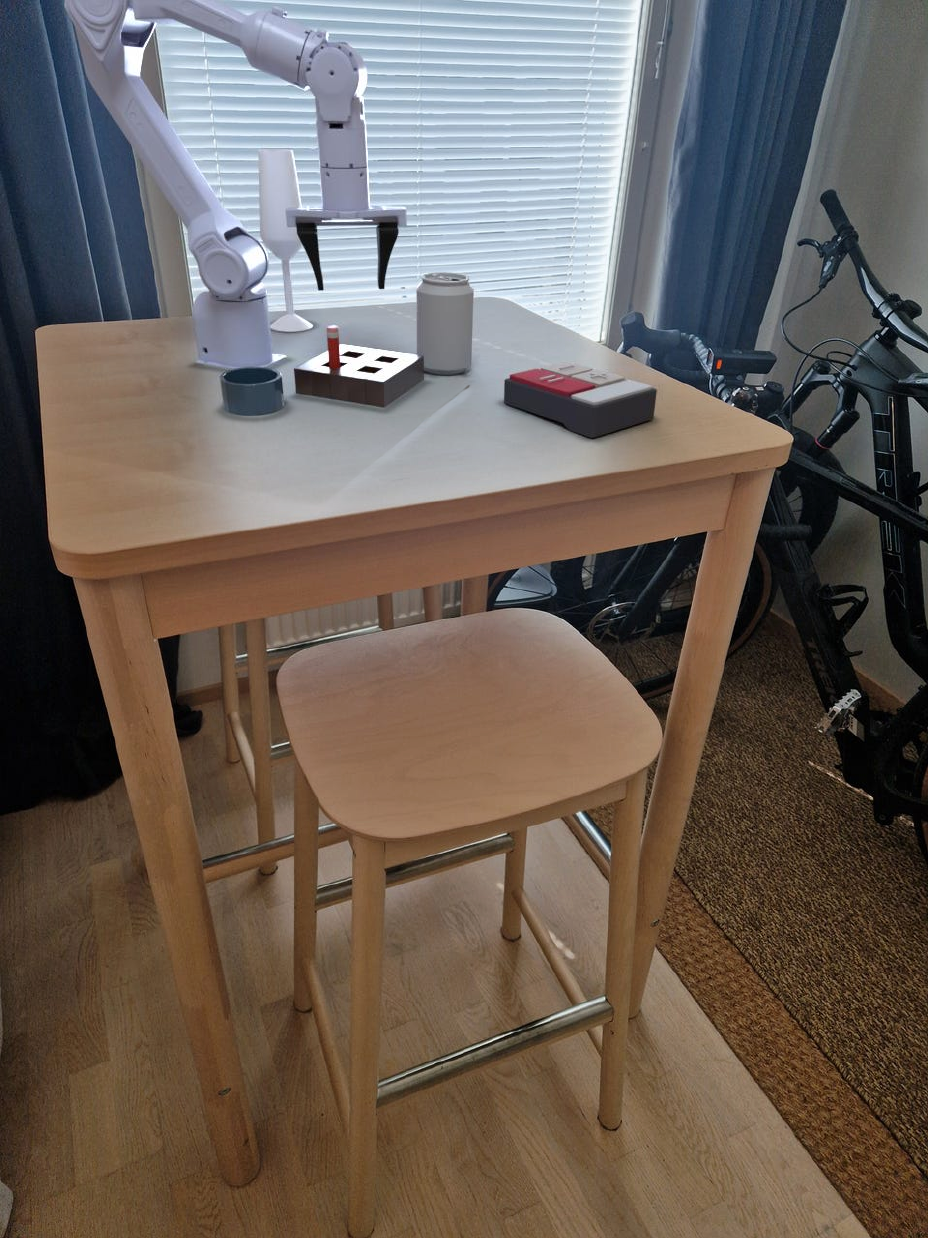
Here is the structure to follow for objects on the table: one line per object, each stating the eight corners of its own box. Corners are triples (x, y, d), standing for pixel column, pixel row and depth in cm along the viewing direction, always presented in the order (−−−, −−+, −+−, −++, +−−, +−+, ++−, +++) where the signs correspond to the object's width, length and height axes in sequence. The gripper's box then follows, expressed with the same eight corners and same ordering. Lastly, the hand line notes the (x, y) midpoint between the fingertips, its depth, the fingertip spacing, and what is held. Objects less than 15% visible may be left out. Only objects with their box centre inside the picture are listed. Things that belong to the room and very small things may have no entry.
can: (465, 378, 106) (468, 282, 99) (410, 373, 107) (409, 278, 100) (475, 363, 112) (479, 271, 105) (424, 358, 113) (424, 267, 107)
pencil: (328, 393, 100) (324, 327, 95) (333, 390, 101) (329, 324, 96) (338, 395, 99) (334, 328, 95) (344, 391, 100) (340, 325, 96)
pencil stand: (296, 396, 98) (293, 368, 96) (342, 370, 108) (340, 343, 106) (384, 411, 95) (383, 381, 93) (424, 382, 104) (424, 355, 102)
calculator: (566, 358, 102) (659, 382, 93) (564, 391, 105) (655, 418, 95) (502, 372, 97) (595, 400, 87) (502, 407, 99) (592, 438, 89)
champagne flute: (279, 319, 129) (262, 147, 116) (319, 322, 128) (306, 149, 115) (262, 329, 124) (243, 150, 110) (303, 333, 123) (289, 152, 109)
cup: (212, 414, 92) (207, 379, 90) (246, 396, 98) (242, 363, 95) (263, 423, 90) (259, 388, 88) (295, 404, 96) (292, 371, 94)
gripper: (280, 169, 90) (293, 296, 98) (408, 169, 92) (410, 293, 100) (282, 164, 96) (293, 284, 104) (402, 164, 98) (405, 282, 106)
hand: (351, 288), depth 102 cm, fingers open, 7 cm apart
